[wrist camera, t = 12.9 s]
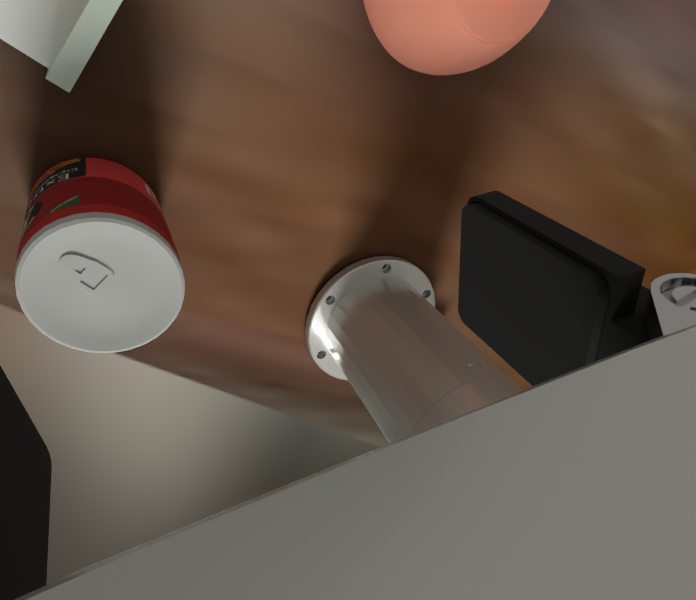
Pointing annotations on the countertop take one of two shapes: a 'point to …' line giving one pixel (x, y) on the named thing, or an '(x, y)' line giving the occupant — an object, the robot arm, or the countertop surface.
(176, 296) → the canned food
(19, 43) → the arena
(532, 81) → the countertop surface
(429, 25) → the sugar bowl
